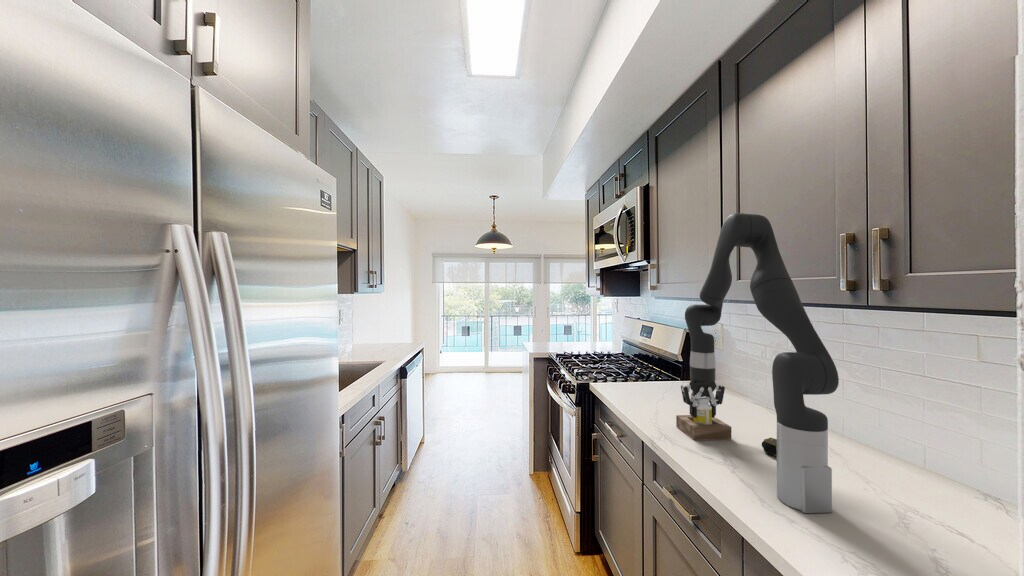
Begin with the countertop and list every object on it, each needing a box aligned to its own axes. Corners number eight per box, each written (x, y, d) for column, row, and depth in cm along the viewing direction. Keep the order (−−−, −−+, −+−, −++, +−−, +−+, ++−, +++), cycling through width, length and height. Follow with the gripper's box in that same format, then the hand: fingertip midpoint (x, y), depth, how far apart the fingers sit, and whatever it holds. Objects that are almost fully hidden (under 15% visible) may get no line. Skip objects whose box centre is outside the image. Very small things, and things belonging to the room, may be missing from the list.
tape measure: (796, 456, 113) (796, 443, 113) (782, 461, 110) (782, 448, 110) (771, 448, 119) (771, 435, 119) (757, 452, 116) (757, 439, 116)
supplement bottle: (706, 424, 134) (705, 395, 134) (715, 430, 128) (715, 399, 128) (690, 425, 133) (690, 395, 133) (699, 430, 128) (699, 400, 128)
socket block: (731, 439, 125) (731, 426, 125) (694, 440, 124) (693, 427, 124) (710, 426, 137) (710, 414, 137) (676, 426, 136) (676, 415, 136)
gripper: (686, 368, 127) (686, 421, 127) (730, 367, 127) (731, 420, 127) (675, 363, 134) (676, 413, 134) (717, 362, 135) (717, 413, 135)
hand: (702, 416), depth 131 cm, fingers closed on supplement bottle, 5 cm apart
